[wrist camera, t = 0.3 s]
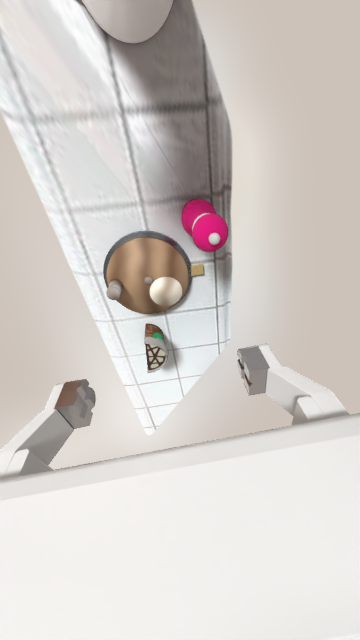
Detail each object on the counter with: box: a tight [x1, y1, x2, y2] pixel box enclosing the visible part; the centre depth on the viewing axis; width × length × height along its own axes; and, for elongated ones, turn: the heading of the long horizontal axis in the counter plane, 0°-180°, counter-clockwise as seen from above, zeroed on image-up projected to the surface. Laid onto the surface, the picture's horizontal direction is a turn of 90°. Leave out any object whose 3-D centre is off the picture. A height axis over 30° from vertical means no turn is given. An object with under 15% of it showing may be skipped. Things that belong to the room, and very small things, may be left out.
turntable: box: [106, 237, 188, 314], centre depth 55 cm, size 20×20×6 cm
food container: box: [145, 324, 168, 373], centre depth 66 cm, size 12×6×10 cm, turn 179°
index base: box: [104, 231, 204, 306], centre depth 58 cm, size 22×25×1 cm
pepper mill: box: [182, 199, 228, 252], centre depth 43 cm, size 7×7×20 cm
